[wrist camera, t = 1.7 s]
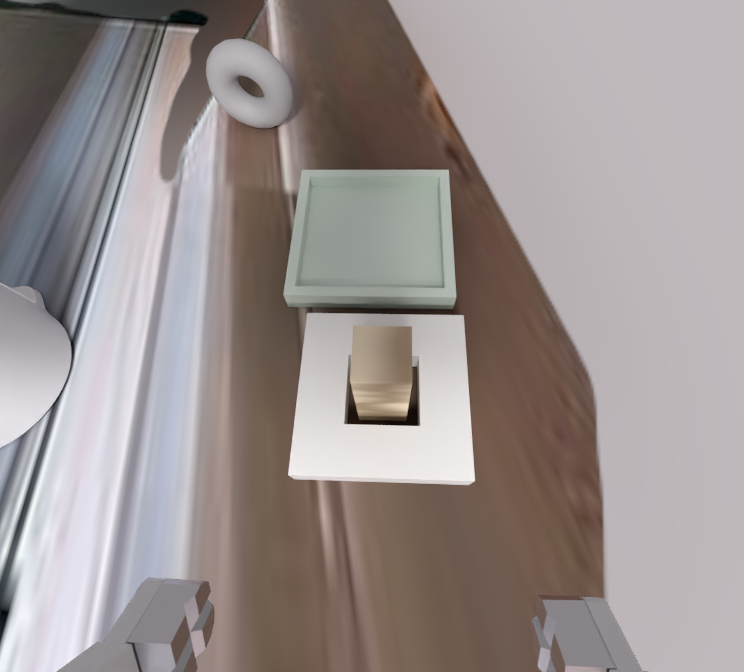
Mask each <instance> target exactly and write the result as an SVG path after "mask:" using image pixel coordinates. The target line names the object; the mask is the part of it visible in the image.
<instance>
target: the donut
mask: <svg viewBox="0 0 744 672" xmlns="http://www.w3.org/2000/svg"><path fill="white" fill-rule="evenodd" d="M206 76H207V80H208V84H209V88H210V90H211V92H212V94H213V95H214V97H215V99H216V101H217V102H218V103H219V104H220V105H221V106H222V108H223V109H224V110H225V111H226V112H227V113H228V114H230V115H231V116H232V117H233V118H235V119H236V120H238V121H240V122H242V123H244V124H246V125H248V126H252V127H256V128H272V127H274V126H277V125H279V124H281V123H282V122H283V121H284V120H285V119H286V118H287V117H288V116H289V115H290V112H291V109H292V105H293V88H292V85H291V82H290V80H289V77H288V74H287V72H286V71H285V69H284V68H283V66H282V65H281V63H280V62H279V61H278V60H277V59H276V58H275V57H274V56H273V55H272V54H271V53H270V52H269V51H268V50H266V49H265V48H263V47H261V46H259V45H258V44H256V43H254V42H251V41H247V40H243V39H230V40H225V41H223V42H221V43H220V44H218V45H216V46H215V47H214V48H213V50H212V51H211V53H210V55H209V56H208V59H207V65H206ZM238 76H245V77H248V78H250V79H252V80H254V81H255V82H256V83H257V84H258V85H259V86H260V88H261V89H262V91H263V93H264V97H262V98H258V97H254V96H252V95H250V94H248V93H247V92H246V91H245V90H243V88H242V87H241V86H240V84H239V82H238V80H237V77H238Z"/></svg>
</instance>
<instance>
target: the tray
mask: <svg viewBox="0 0 744 672" xmlns="http://www.w3.org/2000/svg"><path fill="white" fill-rule="evenodd" d="M283 296H284V298H285V300H286V303H287V305H288V307H331V308H400V309H453V307H454V304H455V300H456V284H455V267H454V250H453V234H452V217H451V200H450V184H449V170H302V172H301V179H300V185H299V192H298V199H297V206H296V213H295V219H294V226H293V233H292V240H291V246H290V253H289V260H288V267H287V274H286V280H285V287H284V294H283Z"/></svg>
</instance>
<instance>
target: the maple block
mask: <svg viewBox="0 0 744 672" xmlns="http://www.w3.org/2000/svg"><path fill="white" fill-rule="evenodd" d="M350 383H351V388H352V392H353V396H354V400H355V404H356V408H357V413H358V417H359V420H378V421H406V418H407V412H408V406H409V400H410V394H411V388H412V327H411V326H353V339H352V355H351V372H350Z"/></svg>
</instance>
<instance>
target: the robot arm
mask: <svg viewBox="0 0 744 672" xmlns="http://www.w3.org/2000/svg"><path fill="white" fill-rule="evenodd" d="M70 364H71V344H70V340H69V337H68V334H67V332H66V330H65V329H64V327H63V326H62V325H61V323H60V322H59V321H57V320H56V319H55V318H54V317H53V316H51V315H50V314H49V313H48V312H47V311H46V309H45V305H44V302H43V299H42V296H41V294H40V293H39V292H38V291H37V290H35V289H33V288H31V287H29V286H19V287H13V288H9V287H8V286H6V285H4V284H2V283H0V447H2V446H4V445H6V444H8V443H10V442H11V441H13V440H15V439H16V438H18V437H19V436H21V435H22V434H23V433H25V432H26V431H27V430H29V429H30V428H31V427H32V426H33V425H34V424H35V423H37V422H38V421H39V420H40V419H41V418H42V417H43V415H44V414H45V413H46V412H47V411H48V410H49V408H50V407H51V406H52V404H53V403H54V402H55V400H56V399H57V397H58V395H59V394H60V392H61V390H62V388H63V386H64V384H65V382H66V379H67V376H68V373H69V369H70ZM210 592H211V591H210V587H209V582H206V581H194V580H181V579H167V578H147V579H146V580H145V581H144V582H143V583H142V584H141V585H140V587H139V588H138V590H137V591H136V593H135V594H134V596H133V597H132V599H131V600H130V602H129V603H128V605H127V606H126V608H125V609H124V611H123V613H122V614H121V616H120V617H119V619H118V620H117V622H116V623H115V625H114V626H113V628H112V629H111V631H110V632H109V634H108V635H107V637H106V638H105V640H104V641H103V642H96V643H95V644H94V645H92V646H91V647H89V648H88V649H87V650H85V651H84V652H83V653H81V654H80V655H79V656H77V657H76V658H75V659H73V660H72V661H70V662H69V663H68V664H66V665H65V666H64V667H62V668H61V669H60V670H58V671H57V672H196V670H197V664H196V659H195V658H196V657H197V656H198V655H199V654H200V653H201V652H202V651H204V650H205V649H206V647H207V644H208V642H209V639H210V637H211V633H212V629H213V624H214V607H213V604H212V603H211V602H210V601H209V600H208V599H207V598H208V596H209V594H210ZM534 607H535V610H536V613H537V616H536V617H535V618H534V619H533V620H532V627H531V637H532V646H533V651H534V656H535V659H536V663H537V667H538V668H539V669H540V670H541V671H542V672H646V671H642V669H641V667H640V665H639V663H638V661H637V659H636V657H635V655H634V653H633V652H632V649H631V648H630V646H629V644H628V642H627V640H626V638H625V636H624V634H623V632H622V630H621V628H620V626H619V624H618V622H617V620H616V619H615V617H614V615H613V613H612V611H611V609H610V607H609V605H608V603H607V602H606V601H605V600H604V599H603V598H594V597H579V596H549V595H538V596H537V597H536V600H535V606H534Z"/></svg>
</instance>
